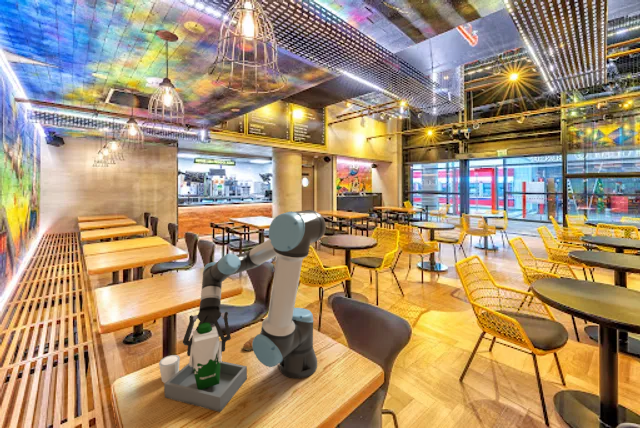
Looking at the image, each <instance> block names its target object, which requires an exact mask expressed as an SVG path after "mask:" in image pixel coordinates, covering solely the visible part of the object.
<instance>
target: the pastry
mask: <svg viewBox="0 0 640 428" xmlns="http://www.w3.org/2000/svg"><path fill="white" fill-rule="evenodd" d="M255 337H256V335H255V336H253V337H251V338H250V339H248V340H247V341H246V342H245V343H244V344H243V346H242V347H243V350H245V351H248V352H249V351H252V350H253V347H252V342H253V339H254V338H255Z"/></svg>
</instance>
